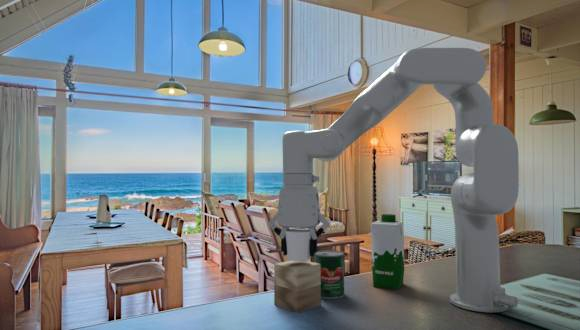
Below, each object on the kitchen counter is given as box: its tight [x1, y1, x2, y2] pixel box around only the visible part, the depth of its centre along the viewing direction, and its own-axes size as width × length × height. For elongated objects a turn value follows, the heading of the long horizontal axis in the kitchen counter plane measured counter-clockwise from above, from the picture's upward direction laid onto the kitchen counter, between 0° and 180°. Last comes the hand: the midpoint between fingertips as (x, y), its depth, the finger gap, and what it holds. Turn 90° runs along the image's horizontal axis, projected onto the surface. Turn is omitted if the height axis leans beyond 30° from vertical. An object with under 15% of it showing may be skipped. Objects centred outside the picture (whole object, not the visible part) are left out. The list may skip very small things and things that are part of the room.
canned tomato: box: [313, 249, 345, 300], centre depth 99 cm, size 8×8×11 cm
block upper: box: [273, 260, 321, 291], centre depth 91 cm, size 8×8×5 cm
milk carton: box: [370, 213, 405, 290], centre depth 108 cm, size 9×9×20 cm
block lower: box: [273, 285, 322, 314], centre depth 91 cm, size 8×8×5 cm
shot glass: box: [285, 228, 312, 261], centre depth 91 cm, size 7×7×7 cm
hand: (299, 254), depth 91 cm, fingers closed on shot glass, 6 cm apart
